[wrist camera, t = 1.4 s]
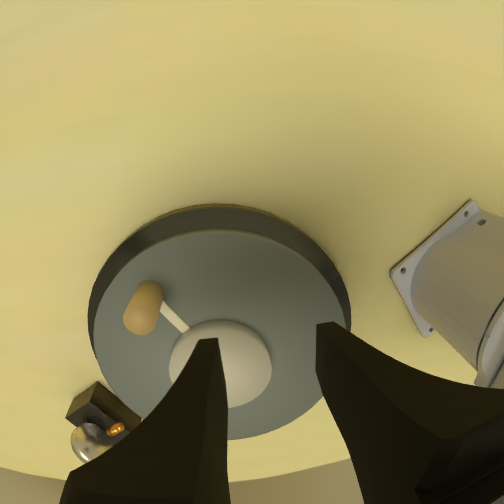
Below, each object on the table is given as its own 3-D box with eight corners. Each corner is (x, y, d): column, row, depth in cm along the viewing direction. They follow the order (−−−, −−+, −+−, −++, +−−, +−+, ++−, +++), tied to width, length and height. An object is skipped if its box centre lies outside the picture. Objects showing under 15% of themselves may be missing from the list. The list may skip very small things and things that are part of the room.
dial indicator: (108, 373, 22) (88, 427, 17) (153, 409, 24) (144, 465, 18) (73, 398, 23) (52, 447, 17) (115, 431, 24) (102, 480, 19)
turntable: (240, 167, 17) (248, 174, 13) (374, 350, 22) (401, 388, 18) (58, 327, 19) (31, 365, 15) (210, 449, 24) (211, 490, 20)
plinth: (241, 142, 18) (243, 142, 17) (381, 338, 24) (389, 348, 22) (51, 312, 20) (42, 322, 19) (209, 444, 26) (209, 456, 24)
